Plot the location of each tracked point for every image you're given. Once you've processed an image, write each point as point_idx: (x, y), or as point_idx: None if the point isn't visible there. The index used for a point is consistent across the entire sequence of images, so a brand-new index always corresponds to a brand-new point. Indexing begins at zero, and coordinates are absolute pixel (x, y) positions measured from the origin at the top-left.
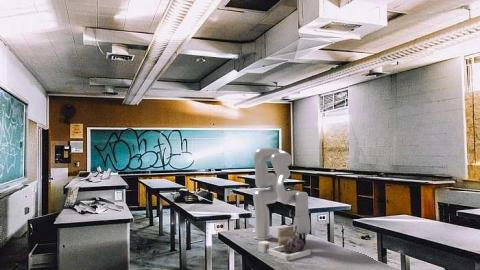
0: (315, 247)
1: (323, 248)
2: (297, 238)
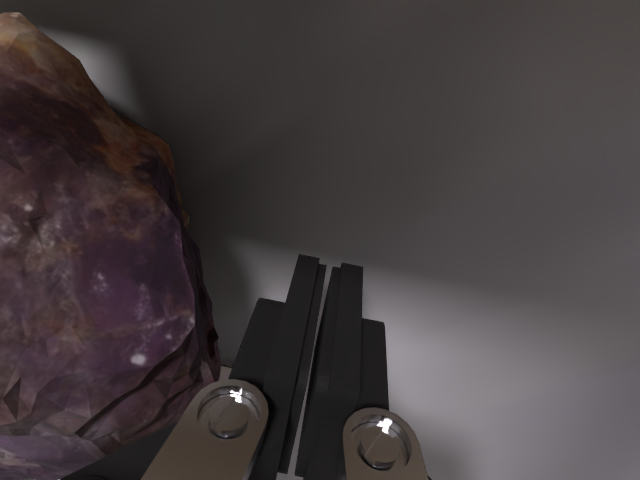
0: (632, 315)
1: (616, 412)
2: (8, 451)
